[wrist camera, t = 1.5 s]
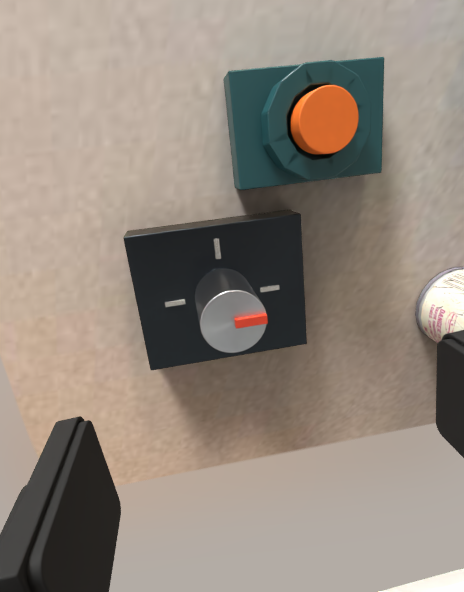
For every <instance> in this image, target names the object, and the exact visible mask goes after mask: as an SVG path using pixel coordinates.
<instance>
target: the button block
mask: <svg viewBox="0 0 464 592" xmlns="http://www.w3.org/2000/svg"><path fill="white" fill-rule="evenodd" d="M383 84H384V57H377V58H366V59H355V60H344V61H332V60H328V61H317V62H305V63H303V64H300V65H289V66H278V67H267V68H256V69H245V70H234V71H229V72H228V73H227V75H226V76H225V78H224V86H225V96H226V106H227V116H228V126H229V135H230V145H231V155H232V165H233V175H234V185H235V188H237V189H239V190H246V189H254V188H262V187H270V186H278V185H286V184H294V183H302V182H310V181H318V180H326V179H334V178H342V177H350V176H358V175H366V174H374V173H381V170H382V127H383ZM326 85H336V86H339V87H342V88H344V89H345V90H347V91H348V92H349V93H350V94H351V96H352V97H353V98H354V100H355V102H356V104H357V108H358V114H359V120H358V126H357V130H356V132H355V135H354V136H353V138H352V140H351V141H350V142H349V143H348V145H346V146H345V147H344V148H343V149H341V150H339V151H337V152H335V153H331V154H310V153H307V152H305V151H304V150H302V149H301V148H300V147H299V146H298V145H297V144H296V142H295V141H294V139H293V136H292V133H291V128H290V121H291V115H292V112H293V109H294V107H295V105H296V104H297V102H298V101H299V100H300V99H301V98H302V97H303V96H304V95H306V94H307V93H309V92H311V91H313V90H315V89H317V88H319V87H322V86H326Z"/></svg>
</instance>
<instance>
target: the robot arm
mask: <svg viewBox="0 0 464 592" xmlns="http://www.w3.org/2000/svg"><path fill="white" fill-rule="evenodd" d="M436 425H437V428H438V430H439V432H440V434H441V435H442V436H443V437H444V438H445V439H446V440H447V441H448V442H449V443H450V444H451V445H452V446H453V447H454V448H455V449H456V450H457V451H458V452H459V454H460V455H461V456H463V458H464V330H461V331H456V332H452V333H447V334H445V335H443V337H442V340H441V341H439V342H438V344H437V387H436ZM120 515H121V507H120V501H119V497H118V494H117V492H116V489H115V486H114V483H113V480H112V477H111V475H110V472H109V469H108V466H107V463H106V461H105V458H104V455H103V452H102V449H101V446H100V444H99V441H98V438H97V435H96V432H95V430H94V427H93V424H92V422H91V421H89V420H88V421H84V419H83V418H82V417H75V418H71V419H67V420H62V421H58V422H56V424H55V426H54V428H53V430H52V432H51V434H50V436H49V439H48V441H47V443H46V445H45V447H44V449H43V452H42V454H41V456H40V458H39V460H38V463H37V465H36V467H35V469H34V471H33V474H32V476H31V478H30V480H29V482H28V484H27V485H26V486H25V487H23V489H22V490H21V492H20V494H19V496H18V498H17V500H16V502H15V504H14V507H13V509H12V511H11V513H10V515H9V517H8V519H7V521H6V523H5V525H4V528H3V530H2V532H1V534H0V592H109V587H110V580H111V574H112V567H113V561H114V554H115V548H116V541H117V535H118V529H119V522H120ZM379 592H464V568H462V569H459V570H455V571H452V572H448V573H444V574H441V575H437V576H434V577H430V578H426V579H423V580H419V581H415V582H412V583H408V584H404V585H401V586H397V587H393V588H390V589H386V590H383V591H379Z"/></svg>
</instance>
